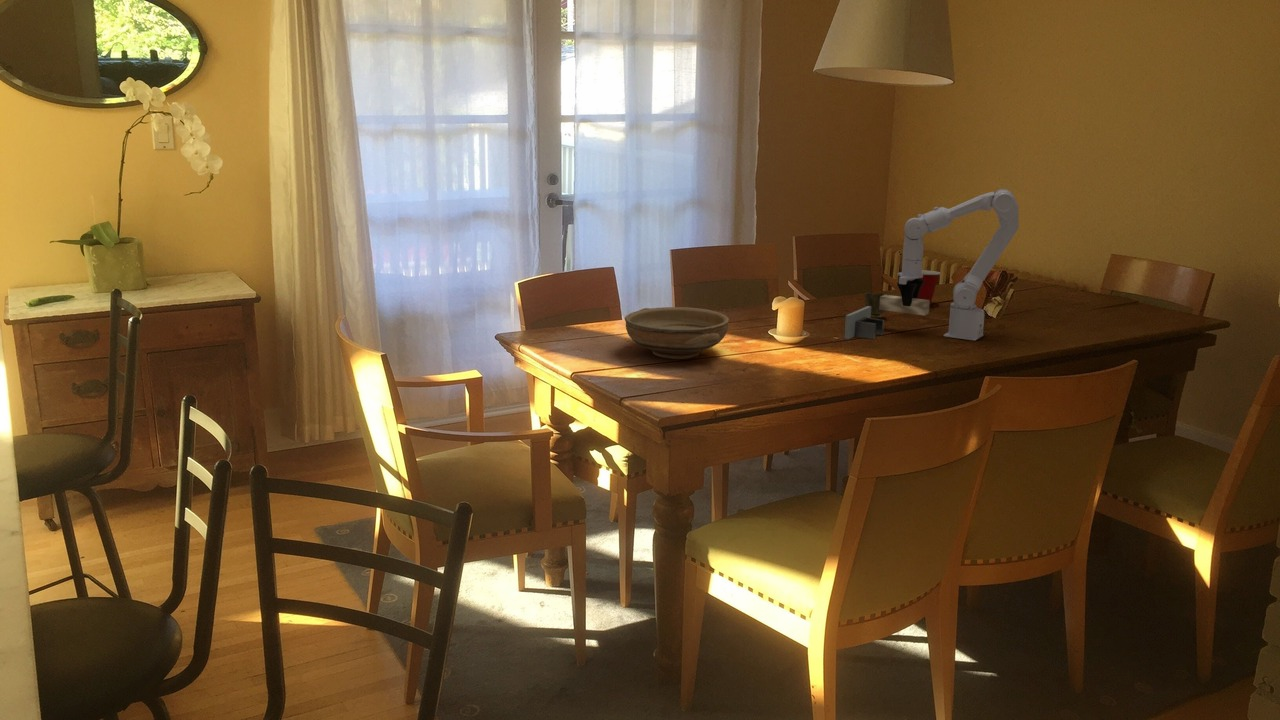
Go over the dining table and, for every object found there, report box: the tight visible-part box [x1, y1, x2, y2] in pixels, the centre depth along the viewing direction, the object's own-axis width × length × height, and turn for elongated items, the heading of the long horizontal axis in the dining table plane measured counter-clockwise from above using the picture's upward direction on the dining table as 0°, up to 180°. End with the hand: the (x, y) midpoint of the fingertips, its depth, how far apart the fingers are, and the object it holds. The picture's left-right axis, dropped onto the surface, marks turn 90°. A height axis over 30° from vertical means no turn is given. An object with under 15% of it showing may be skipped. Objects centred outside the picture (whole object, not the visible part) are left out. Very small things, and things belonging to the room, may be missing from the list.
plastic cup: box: [917, 269, 942, 308], centre depth 340 cm, size 11×11×12 cm
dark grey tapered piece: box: [864, 291, 889, 319], centre depth 321 cm, size 8×7×8 cm
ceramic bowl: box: [624, 306, 730, 360], centre depth 279 cm, size 37×29×10 cm
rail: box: [879, 294, 930, 316], centre depth 302 cm, size 14×4×4 cm, turn 54°
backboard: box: [844, 306, 871, 340], centre depth 301 cm, size 1×16×7 cm, turn 145°
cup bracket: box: [853, 317, 885, 340], centre depth 299 cm, size 6×7×4 cm
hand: (909, 304), depth 301 cm, fingers closed on rail, 4 cm apart
